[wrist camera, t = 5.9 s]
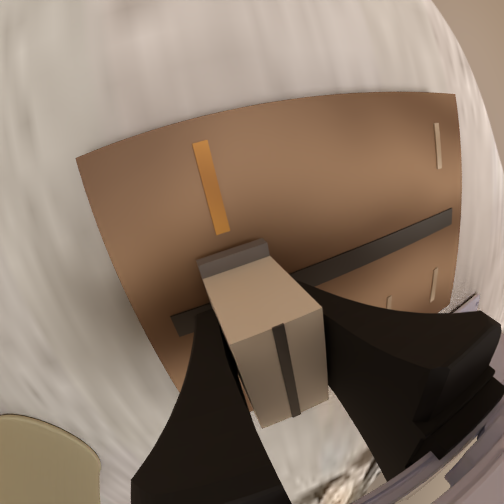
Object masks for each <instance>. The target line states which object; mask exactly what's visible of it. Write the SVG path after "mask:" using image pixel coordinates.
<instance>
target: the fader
mask: <svg viewBox="0 0 504 504" xmlns="http://www.w3.org/2000/svg"><path fill="white" fill-rule="evenodd" d="M196 262H197V265H198V268H199V271H200V274H201V277H202V280H203V283H204V286H205V289H206V292H207V295H208V298H209V300H210V303H211V306H212V308H213V310H214V312H215V314H216V317H217V319H218V322H219V325H220V327H221V330H222V333H223V336H224V338H225V341H226V344H227V347H228V349H229V352H230V355H231V357H232V360H233V363H234V365H235V368H236V370H237V373H238V376H239V379H240V381H241V383H242V386H243V388H244V390H245V393H246V395H247V397H248V399H249V401H250V404H251V406H252V408H253V410H254V413H255V415H256V417H257V419H258V421H259V423H260V425H261V428H262V429H263V428H265V427H268V426H270V425H273V424H275V423H278V422H280V421H282V420H285V419H287V418H289V417H296V416H298V415H300V414H301V412H303V411H305V410H307V409H309V408H312V407H314V406H316V405H318V404H320V403H322V402H324V401H326V400H328V399H329V395H328V376H327V360H326V346H325V333H324V322H323V311H322V307H321V306H320V305H319V304H318V303H317V302H316V301H315V300H314V299H313V298H312V297H311V296H310V295H309V294H308V293H307V292H306V291H305V290H304V289H303V288H302V287H301V286H300V285H299V284H298V283H297V282H296V281H295V280H294V279H293V278H292V277H291V276H290V275H289V274H288V273H287V272H286V271H285V270H284V269H283V268H282V267H281V266H280V265H279V264H278V263H277V262H276V261H275V260H274V259H273V258H272V257H271V256H270V254H269V249H268V244H267V242H266V241H265V240H264V239H263V238H261V239H258V240H255V241H252V242H249V243H246V244H243V245H240V246H237V247H234V248H231V249H228V250H225V251H222V252H219V253H216V254H213V255H210V256H207V257H204V258H201V259H198V260H196Z"/></svg>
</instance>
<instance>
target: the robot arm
mask: <svg viewBox="0 0 504 504" xmlns="http://www.w3.org/2000/svg"><path fill="white" fill-rule="evenodd" d="M294 280H295V279H294ZM295 281H296V282H297V283H298V284H299V285H300V286H301V287H302V288H303V289H304V290H305V291H306V292H307V293H308V294H309V295H310V296H311V297H312V298H313V299H314V300H315V301H316V302H317V303H318V304H319V305H320V306H321V307H322V311H323V322H324V333H325V346H326V360H327V376H328V385H329V387H330V388H331V389H332V390H333V392H334V393H335V394H336V396H337V397H338V399H339V400H340V402H341V403H342V405H343V407H344V408H345V410H346V411H347V413H348V414H349V416H350V418H351V419H352V421H353V422H354V424H355V426H356V427H357V429H358V430H359V432H360V434H361V435H362V437H363V439H364V441H365V442H366V444H367V446H368V447H369V449H370V451H371V453H372V454H373V456H374V458H375V460H376V462H377V464H378V465H379V467H380V469H381V471H382V473H383V475H384V477H385V479H386V480H387V482H386V483H385V484H383V485H382V486H380V487H379V488H377V489H375V490H373V491H372V492H370V493H368V494H367V495H365V496H363V497H361V498H359V499H358V500H356V501H354V502H352V503H350V504H394V503H396V502H397V501H399V500H400V499H402V498H403V497H404V496H406V495H407V494H409V493H410V492H412V491H413V490H414V489H416V488H417V487H418V486H420V485H421V484H422V483H424V482H425V481H426V480H428V479H429V478H430V477H432V476H433V475H434V474H435V473H437V472H438V471H439V470H440V469H441V468H443V467H444V466H445V465H446V464H447V463H448V462H450V461H451V460H452V459H453V458H454V457H455V456H456V455H457V454H458V453H460V452H461V451H462V450H463V449H464V448H465V447H466V446H467V445H468V444H469V443H470V442H471V441H472V440H473V439H474V438H475V437H476V436H477V435H478V436H477V441H476V442H475V443H474V444H473V446H471V447H470V449H468V450H467V451H466V453H465V454H464V455H463V457H462V458H461V459H460V460H459V462H458V463H457V464H456V465H455V466H454V467H453V468H452V469H451V470H450V471H449V472H448V473H447V474H446V475H445V479H446V480H447V481H448V482H449V484H450V485H451V487H450V489H449V490H447V491H446V492H445V493H444V494H442V495H441V496H440V497H439V498H438V499H436V500H435V501H434V502H432V503H431V504H504V334H503V333H502V332H501V324H499V323H498V322H497V321H495V320H494V319H492V318H491V317H489V316H488V315H486V314H485V313H483V312H482V311H477V308H478V304H479V300H480V295H479V294H476V295H475V296H473V297H472V298H471V299H470V300H468V301H467V302H466V303H465V304H464V305H462V306H461V307H460V308H459V309H457V310H456V311H455V312H453V313H416V312H406V311H398V310H391V309H386V308H381V307H376V306H371V305H367V304H363V303H360V302H356V301H353V300H350V299H346V298H343V297H340V296H337V295H335V294H332V293H329V292H326V291H324V290H321V289H319V288H316V287H313V286H311V285H308V284H306V283H303V282H301V281H298V280H295ZM131 504H292V503H291V501H290V500H289V498H288V496H287V494H286V492H285V490H284V488H283V486H282V484H281V482H280V480H279V478H278V476H277V474H276V472H275V470H274V467H273V465H272V463H271V461H270V459H269V457H268V455H267V453H266V451H265V449H264V446H263V444H262V442H261V440H260V438H259V436H258V433H257V431H256V429H255V426H254V424H253V421H252V418H251V415H250V412H249V408H248V405H247V402H246V399H245V396H244V393H243V389H242V386H241V383H240V380H239V376H238V373H237V370H236V368H235V365H234V363H233V360H232V357H231V355H230V352H229V349H228V347H227V344H226V341H225V338H224V336H223V333H222V330H221V327H220V325H219V322H218V319H217V317H216V314H215V312H214V310H213V308H212V309H209V310H206V311H204V312H201V313H198V314H196V315H195V317H194V336H193V343H192V349H191V355H190V359H189V363H188V367H187V371H186V375H185V379H184V382H183V385H182V388H181V391H180V394H179V397H178V399H177V402H176V404H175V406H174V409H173V411H172V413H171V416H170V418H169V420H168V422H167V424H166V426H165V428H164V430H163V432H162V433H161V435H160V437H159V439H158V441H157V442H156V444H155V446H154V448H153V449H152V451H151V452H150V454H149V455H148V457H147V458H146V460H145V461H144V463H143V464H142V465H141V467H140V468H139V470H138V471H137V473H136V474H135V475H134V477H133V478H132V479H131Z"/></svg>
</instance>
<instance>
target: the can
mask: <svg viewBox="0 0 504 504" xmlns="http://www.w3.org/2000/svg"><path fill="white" fill-rule="evenodd" d="M100 470H101V463H100V460H99V458H98V456H97V455H96V453H95V452H94V451H93V450H92V449H91V448H90V447H89V446H88V445H86V444H85V443H84V442H82V441H81V440H79V439H78V438H76V437H75V436H73V435H71V434H70V433H68V432H66V431H64V430H62V429H60V428H58V427H55V426H53V425H51V424H48V423H46V422H43V421H40V420H37V419H34V418H30V417H26V416H21V415H1V416H0V504H100V487H99V475H100Z"/></svg>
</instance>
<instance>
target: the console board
mask: <svg viewBox="0 0 504 504" xmlns="http://www.w3.org/2000/svg"><path fill="white" fill-rule="evenodd" d="M76 161H77V165H78V168H79V172H80V175H81V178H82V182H83V185H84V188H85V191H86V194H87V197H88V200H89V203H90V206H91V209H92V212H93V215H94V217H95V220H96V223H97V226H98V228H99V231H100V233H101V236H102V239H103V241H104V244H105V246H106V249H107V251H108V254H109V256H110V259H111V261H112V263H113V266H114V268H115V270H116V273H117V275H118V277H119V279H120V282H121V284H122V286H123V288H124V290H125V293H126V295H127V297H128V299H129V301H130V303H131V305H132V307H133V309H134V311H135V313H136V315H137V317H138V319H139V321H140V323H141V325H142V327H143V329H144V331H145V333H146V335H147V337H148V339H149V341H150V342H151V344H152V346H153V348H154V350H155V352H156V353H157V355H158V357H159V359H160V361H161V362H162V364H163V366H164V367H165V369H166V371H167V373H168V374H169V376H170V378H171V379H172V381H173V383H174V384H175V386H176V388H177V389H178V391H179V392H180V391H181V388H182V385H183V382H184V379H185V375H186V371H187V367H188V363H189V359H190V355H191V349H192V343H193V336H194V317H195V315H196V314H198V313H201V312H204V311H206V310H209V309H212V306H211V303H210V300H209V298H208V295H207V292H206V289H205V286H204V283H203V280H202V277H201V274H200V271H199V268H198V265H197V262H196V260H198V259H201V258H204V257H207V256H210V255H213V254H216V253H219V252H222V251H225V250H228V249H231V248H234V247H237V246H240V245H243V244H246V243H249V242H252V241H255V240H258V239H261V238H263V239H264V240H265V241H266V242H267V244H268V249H269V254H270V256H271V257H272V258H273V259H274V260H275V261H276V262H277V263H278V264H279V265H280V266H281V267H282V268H283V269H284V270H285V271H286V272H287V273H288V274H289V275H290V276H291V277H292V278H293V279H295V280H298V281H301V282H303V283H306V284H308V285H311V286H313V287H316V288H319V289H321V290H324V291H326V292H329V293H332V294H335V295H337V296H340V297H343V298H346V299H350V300H353V301H356V302H360V303H363V304H367V305H371V306H376V307H381V308H386V309H391V310H398V311H406V312H416V313H438V312H439V311H441V310H442V309H443V308H445V307H446V306H448V305H449V304H450V299H451V293H452V288H453V282H454V275H455V269H456V261H457V253H458V244H459V233H460V219H461V194H462V169H461V145H460V131H459V120H458V112H457V104H456V97H455V94H446V93H428V92H367V93H349V94H335V95H324V96H314V97H305V98H297V99H290V100H283V101H276V102H270V103H264V104H258V105H252V106H247V107H242V108H237V109H232V110H227V111H223V112H218V113H214V114H210V115H205V116H201V117H197V118H193V119H189V120H186V121H182V122H178V123H175V124H171V125H168V126H164V127H161V128H158V129H154V130H151V131H148V132H145V133H142V134H139V135H136V136H133V137H130V138H127V139H124V140H121V141H118V142H116V143H113V144H110V145H108V146H105V147H102V148H100V149H97V150H95V151H92V152H90V153H87V154H85V155H82V156H80V157H77V158H76ZM239 380H240V379H239ZM240 383H241V381H240ZM241 386H242V383H241ZM242 389H243V393H244V396H245V399H246V402H247V405H248V408H249V412H251V411H254V410H253V408H252V406H251V404H250V401H249V399H248V397H247V395H246V393H245V390H244V388H243V386H242Z"/></svg>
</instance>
